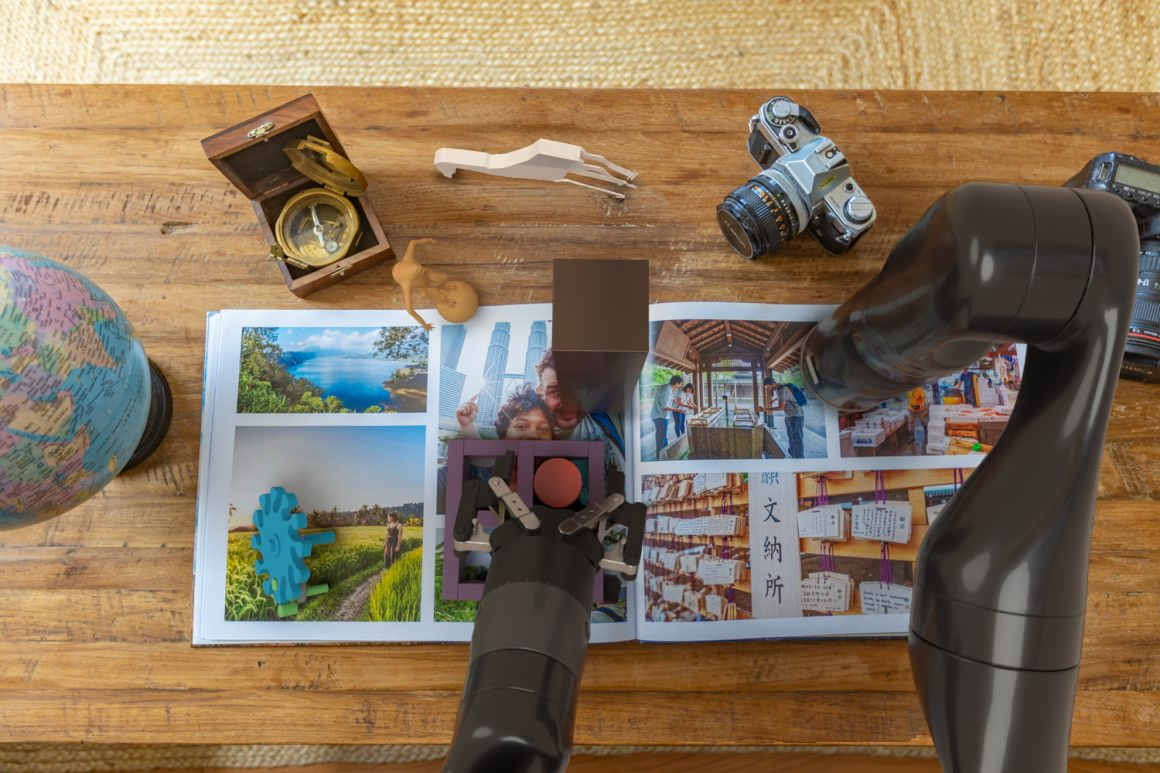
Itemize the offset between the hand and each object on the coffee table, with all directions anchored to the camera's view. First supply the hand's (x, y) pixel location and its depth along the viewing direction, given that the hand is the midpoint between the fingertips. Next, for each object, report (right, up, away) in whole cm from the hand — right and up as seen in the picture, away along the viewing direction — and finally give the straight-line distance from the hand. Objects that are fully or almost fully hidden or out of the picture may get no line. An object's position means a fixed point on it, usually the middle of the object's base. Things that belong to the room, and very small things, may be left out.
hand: (561, 464), depth 65 cm
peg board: (-3, -6, +7) cm, 10 cm away
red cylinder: (0, -3, +7) cm, 8 cm away
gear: (-24, -8, +7) cm, 27 cm away
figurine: (-11, +14, +11) cm, 21 cm away
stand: (+3, +7, +9) cm, 12 cm away
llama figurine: (-3, +27, +13) cm, 30 cm away
